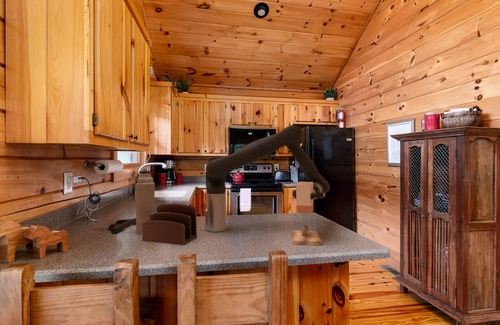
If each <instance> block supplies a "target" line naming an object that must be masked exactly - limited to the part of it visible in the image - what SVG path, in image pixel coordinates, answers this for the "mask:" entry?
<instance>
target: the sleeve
mask: <svg viewBox="0 0 500 325" xmlns="http://www.w3.org/2000/svg"><path fill="white" fill-rule="evenodd" d="M313 183H314V181H298V182H296V183H295V184H296V186H295V187H296V189H295V190H296V198H295V199H296V200H295V201H296V204H295V205H296V210H295V211H296V213H297V214H299V213H300V214H309V215H311V214H312V213H313V212H314V201H313V199H310V194H311V193H313Z"/></svg>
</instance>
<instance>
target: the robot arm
mask: <svg viewBox="0 0 500 325" xmlns="http://www.w3.org/2000/svg"><path fill="white" fill-rule="evenodd" d="M303 132H304V131H303V129H302V128H301V127H300V126H299V125H297V124H291V125H290V124H289V125H288V126H286V127H284V128H283V129H281V130H280V131H279V132H276V133H275V134H272V135H269V136H265V137H263V138H260V139H257V140H254V141H252V142H250V143H247V144H245V145H244V146H241V148H239V149H237V150H236V151H235V152H233V153H230V154H227V155H225V156H222V157H219V158H214V159H211V160H209V161H208V162H207V163H206V166H205V189H206V190H205V191H206V192H205V195H206V196H205V198H206V199H205V200H206V202H205V203H206V208H205V210H204V217H205V218H204V228H205V229H204V231H207V232H211V233H213V232H214V233H217V232H224V231H226V230H227V187H226V178H225V176H227V175H228V174H230V173H232V172H233V171H235V170H237V169H240V168H241V167H244V166H247V165H249V164H250V165H251V164H253V163H255V162H258V161H259V160H262V159H264V158H265V157H269V156H270V155H271V154H273V153H274V152H276V151H277V150H278V151H279V149H281V148H284V147H286V148H287V150H289V152H290V154H291V155H292V156H293V158H294V159H295V161H296V162H297V164H298V166H299V168H300V170H301V172H302V173H303V175H304V177H305V178H306V180H308V181H312V180H316V181H315V182H314V181H313V193H311V194H310V199H313V202H314V201H316V200H317V199H319V200H321V199H323V198H326V193H328V192H330V190H331V186H330V184H329V182H328V181H327V180H326V178H324V177H323V176H322V174H321V173H320V172H319V170H318V169H317V166H316V165H315V163H314V162H313V160H312V159H311V157H310V156H309V155H308V154H307V153H306V152H305V151H304V150H303V148H302V147H301V145H300V144H299V141H301V139H302V137H303V134H304V133H303ZM292 198H294V199H296V189H293V190H292Z"/></svg>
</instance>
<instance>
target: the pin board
mask: <svg viewBox="0 0 500 325" xmlns="http://www.w3.org/2000/svg"><path fill="white" fill-rule="evenodd" d="M301 226H302V227H301V228H302V229H301V230H290V236H291V237H290V238H291V243H292V245H295V246H296V245H298V246H299V245H300V246H323V240H322V239H321V237H320V236H319V234H318V231H317V230H309V225H306V224H302V225H301Z"/></svg>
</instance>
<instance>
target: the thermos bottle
mask: <svg viewBox="0 0 500 325" xmlns="http://www.w3.org/2000/svg"><path fill="white" fill-rule="evenodd" d="M155 184H156V183H155V182H154V178H153V177H152V172H151V170H141V171H139V177H138V178H137V182H136V183H135V218H136V224H135V227H136V228H135V229H136V230H135V233H136V234H141V235H142V234H143V222H145V221H150V215H151V214H152V213H156V210H155V209H156V207H155V206H156V205H155V204H156V203H155V199H156V198H155V197H156V193H155V192H156V190H155V188H156V187H155Z"/></svg>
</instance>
